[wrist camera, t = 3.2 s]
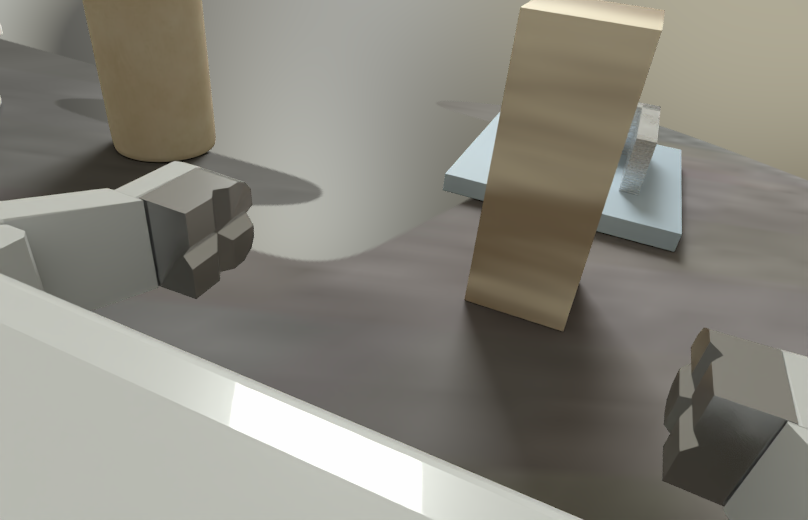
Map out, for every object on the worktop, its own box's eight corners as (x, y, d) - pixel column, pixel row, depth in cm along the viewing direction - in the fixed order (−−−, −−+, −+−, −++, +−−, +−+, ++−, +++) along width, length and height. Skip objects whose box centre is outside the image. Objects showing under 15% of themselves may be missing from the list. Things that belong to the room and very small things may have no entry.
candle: (236, 146, 33) (220, -46, 27) (148, 172, 29) (109, -43, 24) (181, 119, 36) (156, -61, 30) (94, 140, 32) (48, -61, 26)
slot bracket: (499, 162, 32) (510, 110, 30) (525, 127, 37) (534, 81, 35) (638, 195, 30) (657, 142, 28) (643, 153, 35) (660, 106, 33)
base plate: (442, 190, 31) (445, 173, 30) (498, 124, 40) (501, 110, 39) (674, 251, 27) (681, 234, 27) (675, 164, 37) (681, 150, 36)
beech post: (563, 331, 22) (662, 30, 15) (464, 300, 23) (520, 7, 17) (577, 278, 25) (664, 10, 19) (490, 252, 26) (545, -9, 20)
